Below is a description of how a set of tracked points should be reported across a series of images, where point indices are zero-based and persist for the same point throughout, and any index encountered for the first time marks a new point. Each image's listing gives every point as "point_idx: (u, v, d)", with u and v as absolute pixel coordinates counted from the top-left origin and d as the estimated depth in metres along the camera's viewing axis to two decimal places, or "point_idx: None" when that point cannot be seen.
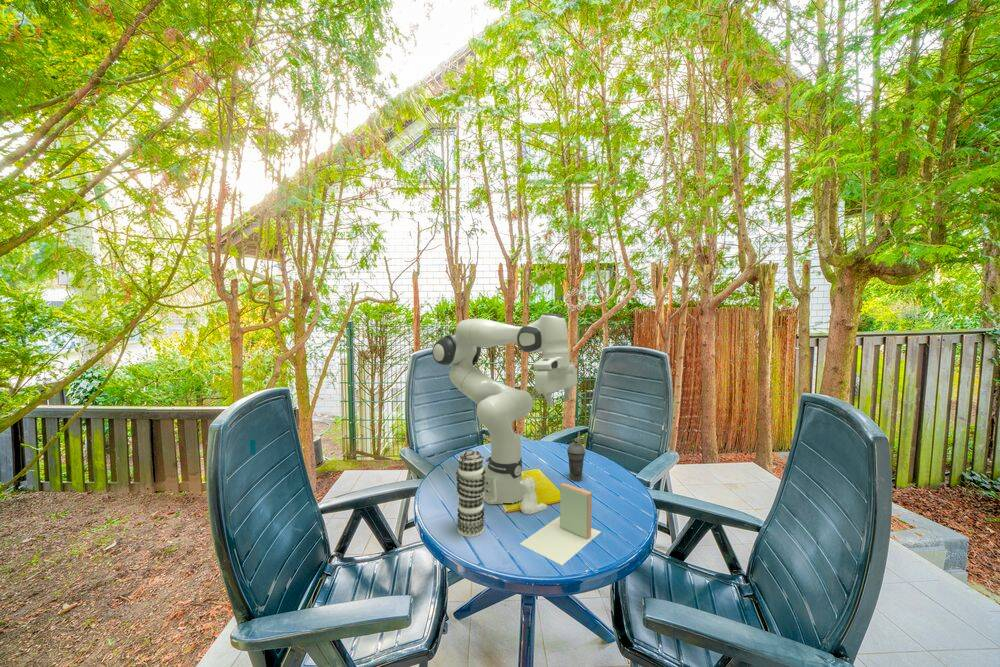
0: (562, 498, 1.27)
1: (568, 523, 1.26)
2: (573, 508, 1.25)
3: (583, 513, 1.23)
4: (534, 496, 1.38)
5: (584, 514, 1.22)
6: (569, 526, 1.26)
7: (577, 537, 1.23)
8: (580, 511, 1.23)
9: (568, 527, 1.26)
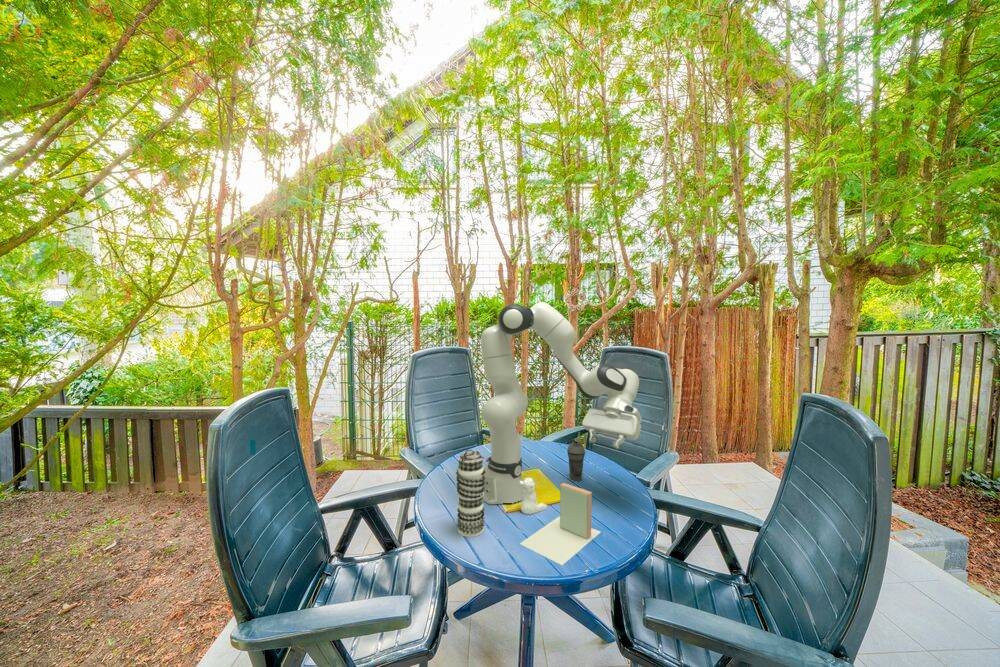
0: (562, 498, 1.27)
1: (568, 523, 1.26)
2: (573, 508, 1.25)
3: (583, 513, 1.23)
4: (534, 496, 1.38)
5: (584, 514, 1.22)
6: (569, 526, 1.26)
7: (577, 537, 1.23)
8: (580, 511, 1.23)
9: (568, 527, 1.26)
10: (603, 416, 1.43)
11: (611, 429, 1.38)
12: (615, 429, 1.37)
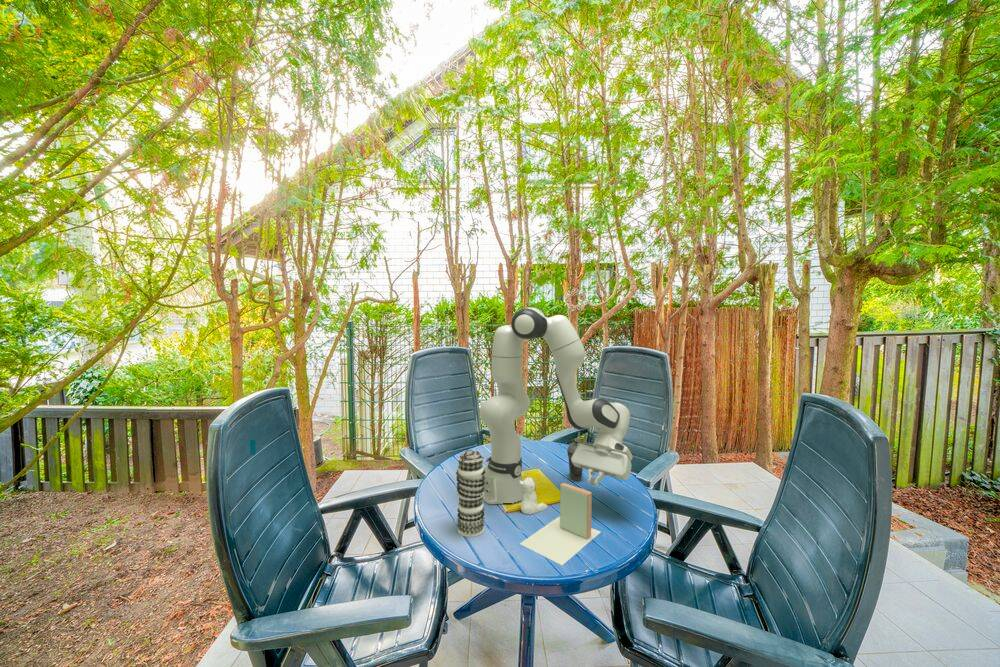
0: (562, 498, 1.27)
1: (568, 523, 1.26)
2: (573, 508, 1.25)
3: (583, 513, 1.23)
4: (534, 496, 1.38)
5: (584, 514, 1.22)
6: (569, 526, 1.26)
7: (577, 537, 1.23)
8: (580, 511, 1.23)
9: (568, 527, 1.26)
10: (593, 453, 1.39)
11: (601, 468, 1.33)
12: (605, 469, 1.32)
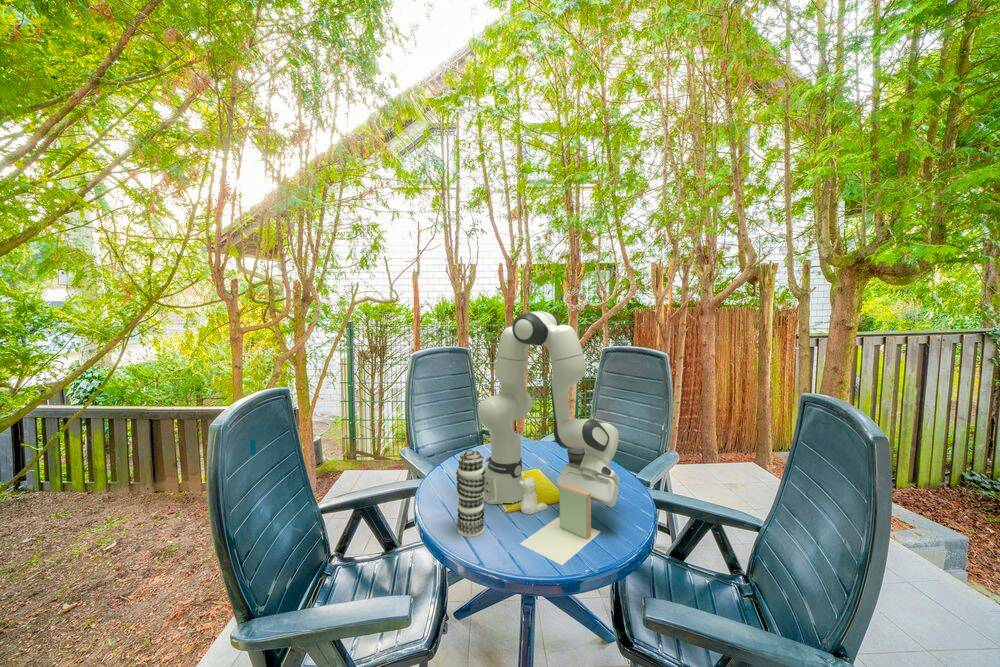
0: (561, 499, 1.27)
1: (568, 523, 1.26)
2: (573, 508, 1.25)
3: (583, 513, 1.22)
4: (534, 496, 1.38)
5: (583, 515, 1.22)
6: (569, 526, 1.26)
7: (577, 537, 1.23)
8: (580, 512, 1.23)
9: (568, 527, 1.26)
10: (579, 476, 1.33)
11: None
12: (591, 494, 1.26)
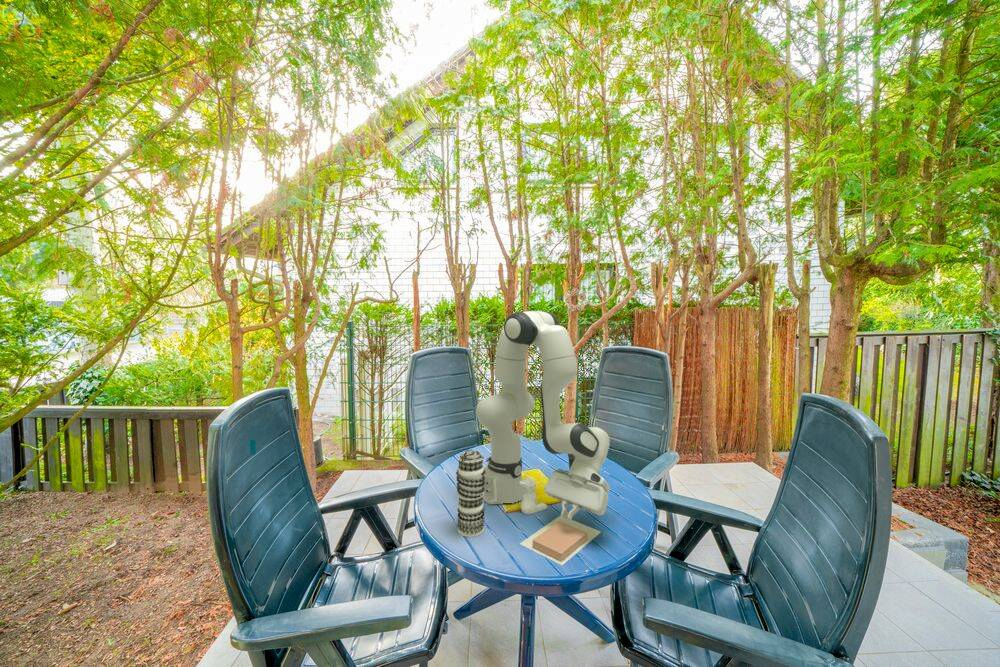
0: None
1: None
2: None
3: None
4: (534, 496, 1.38)
5: None
6: None
7: None
8: None
9: None
10: (568, 483, 1.28)
11: (575, 501, 1.22)
12: (579, 502, 1.21)
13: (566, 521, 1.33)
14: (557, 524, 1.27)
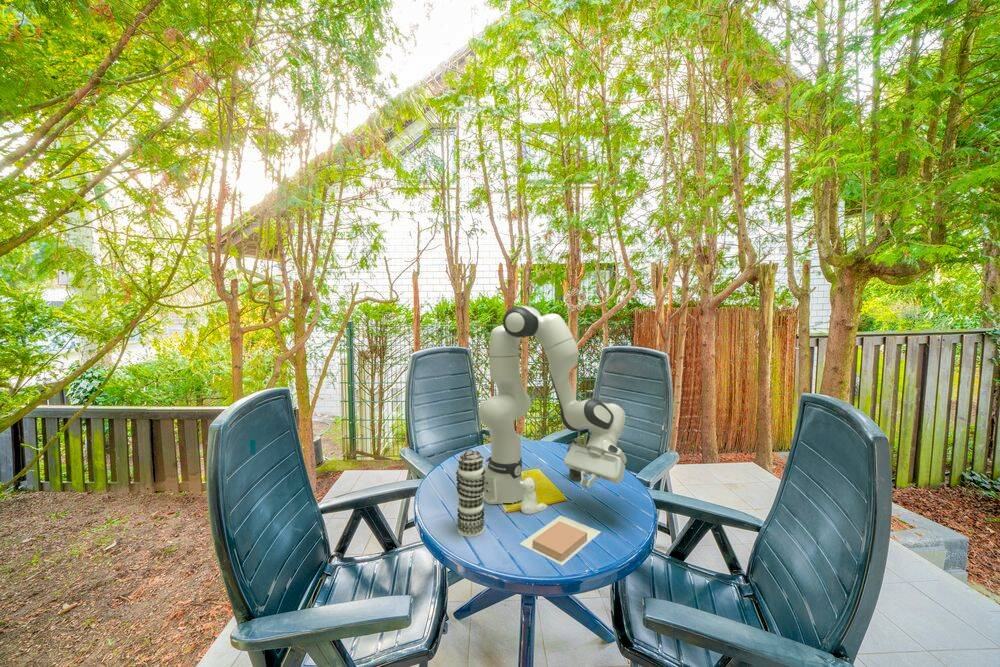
0: None
1: None
2: None
3: None
4: (534, 496, 1.38)
5: None
6: None
7: None
8: None
9: None
10: (586, 454, 1.35)
11: (593, 470, 1.30)
12: (598, 471, 1.29)
13: (566, 521, 1.33)
14: (557, 524, 1.27)
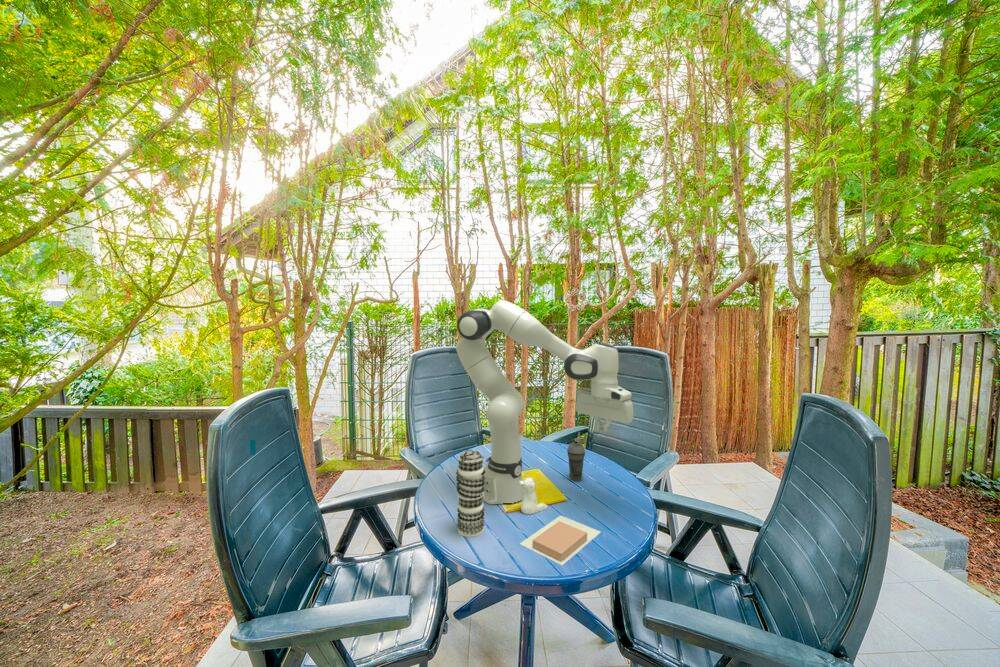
0: None
1: None
2: None
3: None
4: (534, 496, 1.38)
5: None
6: None
7: None
8: None
9: None
10: (593, 401, 1.39)
11: (605, 417, 1.36)
12: (609, 417, 1.35)
13: (566, 521, 1.33)
14: (557, 524, 1.27)
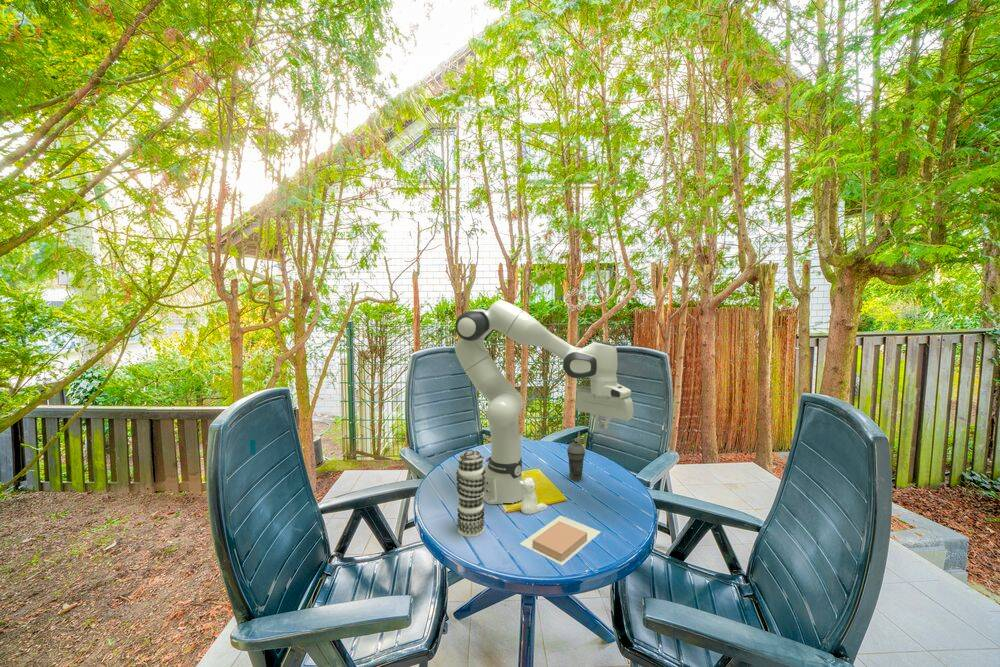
0: None
1: None
2: None
3: None
4: (534, 496, 1.38)
5: None
6: None
7: None
8: None
9: None
10: (593, 399, 1.39)
11: (605, 415, 1.36)
12: (609, 415, 1.35)
13: (566, 521, 1.33)
14: (557, 524, 1.27)
